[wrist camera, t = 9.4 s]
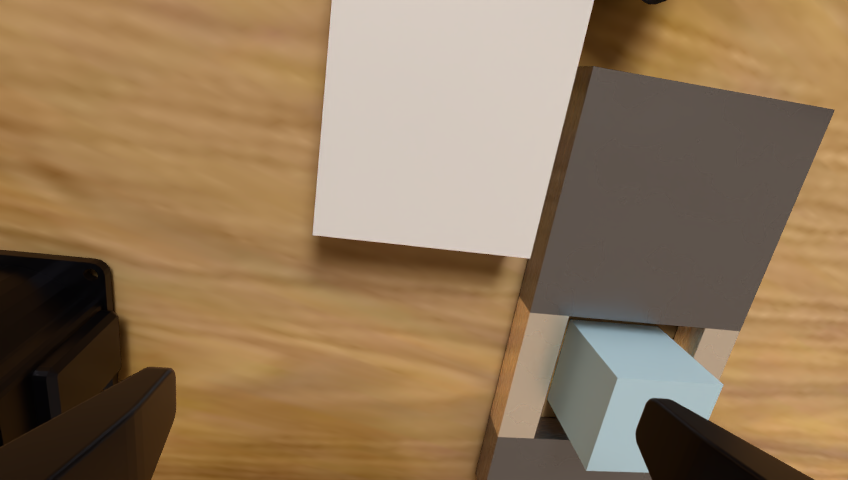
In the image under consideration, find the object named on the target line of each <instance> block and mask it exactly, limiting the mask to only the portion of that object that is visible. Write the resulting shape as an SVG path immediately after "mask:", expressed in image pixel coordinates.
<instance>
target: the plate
mask: <svg viewBox="0 0 848 480" xmlns="http://www.w3.org/2000/svg"><path fill="white" fill-rule="evenodd" d="M833 113H834V110H833V109H827V108H822V107H816V106H811V105H805V104H800V103H794V102H788V101H783V100H777V99H772V98H766V97H761V96H755V95H750V94H744V93H739V92H733V91H727V90H722V89H716V88H711V87H705V86H700V85H694V84H689V83H683V82H678V81H672V80H666V79H661V78H655V77H650V76H644V75H639V74H633V73H628V72H622V71H617V70H611V69H606V68H600V67H594V66H585V67H577V71H576V75H575V79H574V84H573V88H572V92H571V96H570V100H569V104H568V108H567V112H566V116H565V120H564V124H563V128H562V132H561V136H560V140H559V144H558V148H557V152H556V156H555V160H554V164H553V168H552V172H551V176H550V180H549V185H548V189H547V193H546V197H545V201H544V205H543V209H542V213H541V217H540V221H539V225H538V229H537V233H536V237H535V241H534V245H533V249H532V253H531V257H530V259H528V263H527V267H526V271H525V275H524V279H523V283H522V287H521V291H520V295H519V299H518V303H517V307H516V311H515V315H514V319H513V323H512V328H511V332H510V336H509V340H508V344H507V348H506V352H505V356H504V360H503V364H502V368H501V372H500V376H499V380H498V384H497V388H496V393H495V397H494V401H493V405H492V409H491V413H490V417H489V421H488V425H487V429H486V433H485V437H484V441H483V445H482V449H481V453H480V457H479V462H478V466H477V470H476V477H477V480H652V479H651V477H650V474H649V473H643V472H609V471H586V470H585V468H584V466H583V464H582V462H581V460H580V459H579V457H578V455H577V453H576V451H575V449H574V448H573V446H572V444H571V442H570V440H569V438H568V437H567V435H566V433H565V431H564V429H563V427H562V426H561V424H560V422H559V420H558V418H547V417H540V415H541V412H542V408H543V405H544V401H545V398H546V395H547V391H548V388H549V384H550V381H551V377H552V374H553V370H554V367H555V363H556V360H557V356H558V353H559V350H560V346H561V343H562V339H563V336H564V332H565V329H566V325H567V322H568V318H569V316H573V317H584V318H595V319H607V320H618V321H629V322H640V323H652V324H663V325H674V326H679V327H678V329H677V332H676V335H675V337H674V341H675V342H676V343H677V344H678V345H679V346H680V347H681V348H683V349H684V350H685V351H686V352H687V353H688V354H689V355H690V356H692V357H693V358H694V359H695V360H696V361H697V362H698V363H700V364H701V365H702V366H703V367H704V368H705V369H706V370H707V371H709V372H710V373H711V374H712V375H713V376H714V377H715V378H716V379H718V380H719V379H720V376H721V374H722V372H723V369H724V367H725V365H726V362H727V360H728V358H729V355H730V353H731V351H732V348H733V346H734V344H735V341H736V339H737V337H738V334H739V332H740V330H741V327H742V325H743V323H744V320H745V318H746V316H747V313H748V311H749V309H750V306H751V304H752V302H753V299H754V297H755V295H756V292H757V290H758V288H759V285H760V283H761V281H762V278H763V276H764V274H765V271H766V269H767V267H768V264H769V262H770V260H771V257H772V255H773V253H774V250H775V248H776V246H777V243H778V241H779V239H780V236H781V234H782V232H783V229H784V227H785V225H786V222H787V220H788V218H789V215H790V213H791V211H792V208H793V206H794V204H795V201H796V199H797V197H798V194H799V192H800V190H801V187H802V185H803V183H804V180H805V178H806V176H807V173H808V171H809V169H810V166H811V164H812V162H813V159H814V157H815V155H816V152H817V150H818V148H819V145H820V143H821V141H822V138H823V136H824V134H825V131H826V129H827V127H828V124H829V122H830V120H831V117H832V115H833Z"/></svg>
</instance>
